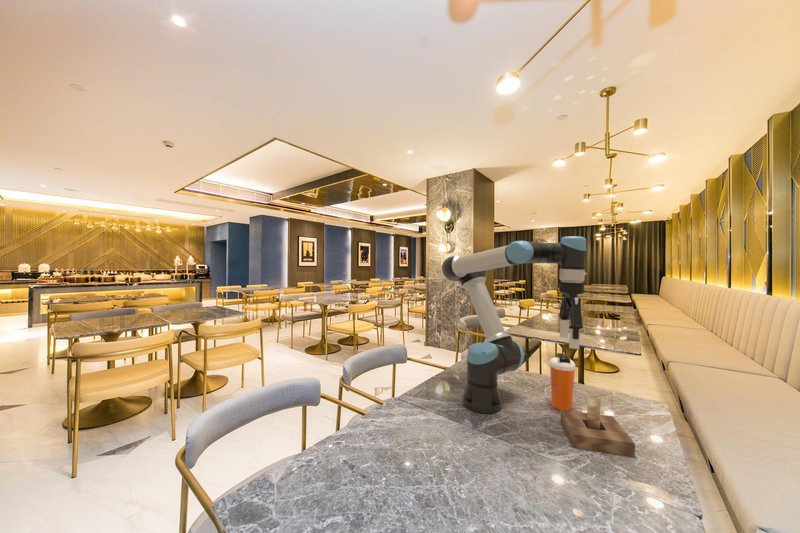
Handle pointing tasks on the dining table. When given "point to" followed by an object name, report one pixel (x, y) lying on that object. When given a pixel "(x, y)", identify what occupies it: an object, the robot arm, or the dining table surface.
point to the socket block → (597, 434)
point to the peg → (593, 413)
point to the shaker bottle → (562, 382)
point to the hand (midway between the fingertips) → (568, 342)
